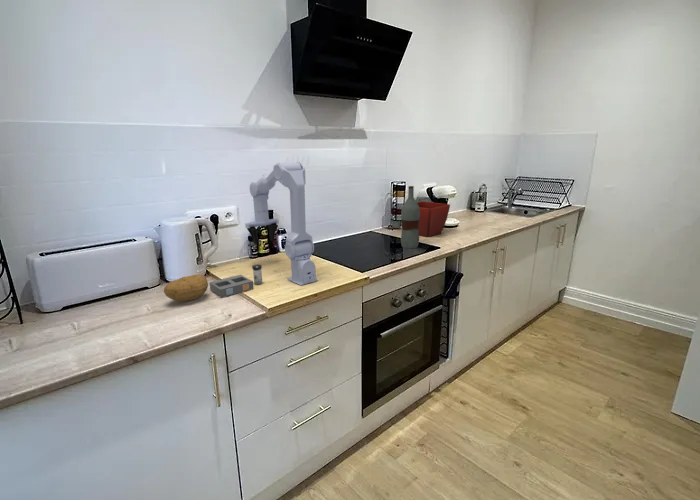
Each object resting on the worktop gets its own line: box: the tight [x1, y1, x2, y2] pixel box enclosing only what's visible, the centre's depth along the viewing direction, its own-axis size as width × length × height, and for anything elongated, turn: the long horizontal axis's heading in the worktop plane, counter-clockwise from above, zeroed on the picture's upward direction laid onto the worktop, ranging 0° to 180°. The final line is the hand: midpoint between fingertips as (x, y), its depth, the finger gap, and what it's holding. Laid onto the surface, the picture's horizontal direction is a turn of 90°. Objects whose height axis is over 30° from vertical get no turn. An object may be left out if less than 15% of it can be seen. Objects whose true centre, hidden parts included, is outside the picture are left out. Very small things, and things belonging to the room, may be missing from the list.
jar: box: [251, 263, 264, 286], centre depth 140 cm, size 3×3×7 cm
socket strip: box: [208, 274, 254, 299], centre depth 134 cm, size 10×12×3 cm
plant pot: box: [416, 201, 451, 238], centre depth 212 cm, size 19×19×17 cm
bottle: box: [400, 185, 420, 250], centre depth 184 cm, size 9×9×30 cm
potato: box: [163, 273, 209, 303], centre depth 125 cm, size 10×14×8 cm
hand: (263, 242), depth 161 cm, fingers open, 7 cm apart
